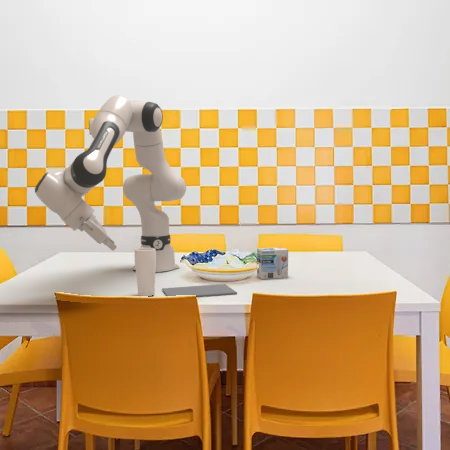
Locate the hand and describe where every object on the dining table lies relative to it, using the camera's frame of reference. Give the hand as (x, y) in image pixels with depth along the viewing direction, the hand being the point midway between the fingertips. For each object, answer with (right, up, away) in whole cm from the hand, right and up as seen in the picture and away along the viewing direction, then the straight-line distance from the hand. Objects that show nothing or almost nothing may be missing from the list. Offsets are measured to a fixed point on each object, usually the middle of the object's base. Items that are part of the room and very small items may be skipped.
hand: (114, 246), depth 163 cm
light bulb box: (+53, -13, +32) cm, 63 cm away
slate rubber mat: (+26, -15, +8) cm, 31 cm away
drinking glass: (+10, -16, +4) cm, 19 cm away
